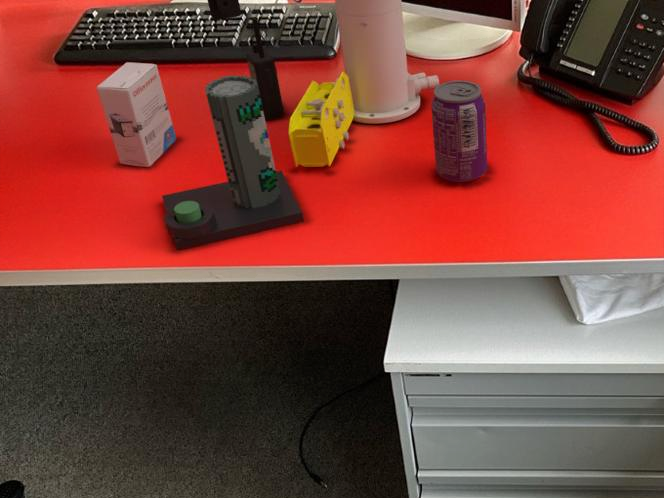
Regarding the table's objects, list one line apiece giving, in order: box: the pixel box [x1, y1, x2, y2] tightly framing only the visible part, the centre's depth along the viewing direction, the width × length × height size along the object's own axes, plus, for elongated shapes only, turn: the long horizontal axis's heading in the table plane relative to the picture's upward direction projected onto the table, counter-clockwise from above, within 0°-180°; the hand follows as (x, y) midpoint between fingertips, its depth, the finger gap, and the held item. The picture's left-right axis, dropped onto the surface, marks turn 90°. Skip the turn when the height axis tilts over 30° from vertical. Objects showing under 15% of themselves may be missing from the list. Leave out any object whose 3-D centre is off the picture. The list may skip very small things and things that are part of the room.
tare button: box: [174, 201, 202, 223], centre depth 111 cm, size 3×3×2 cm
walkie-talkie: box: [245, 16, 285, 121], centre depth 134 cm, size 5×3×15 cm
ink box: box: [96, 61, 177, 168], centre depth 126 cm, size 9×5×12 cm, turn 168°
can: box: [204, 74, 281, 209], centre depth 112 cm, size 6×6×15 cm
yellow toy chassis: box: [287, 71, 354, 168], centre depth 128 cm, size 16×6×8 cm, turn 175°
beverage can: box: [430, 80, 488, 183], centre depth 120 cm, size 7×7×12 cm
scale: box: [161, 169, 305, 251], centre depth 116 cm, size 16×12×3 cm
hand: (219, 2), depth 102 cm, fingers open, 9 cm apart
